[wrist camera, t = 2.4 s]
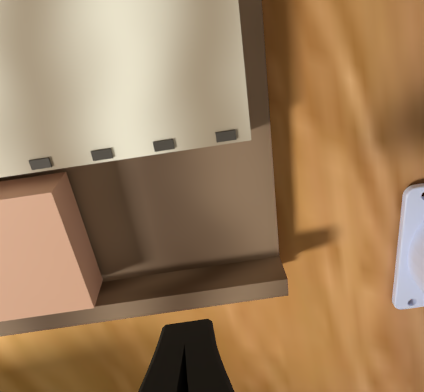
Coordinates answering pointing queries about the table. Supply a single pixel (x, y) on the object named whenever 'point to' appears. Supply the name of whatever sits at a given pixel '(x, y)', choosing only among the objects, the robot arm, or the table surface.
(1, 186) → the peach pink block
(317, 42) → the table surface
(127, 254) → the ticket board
